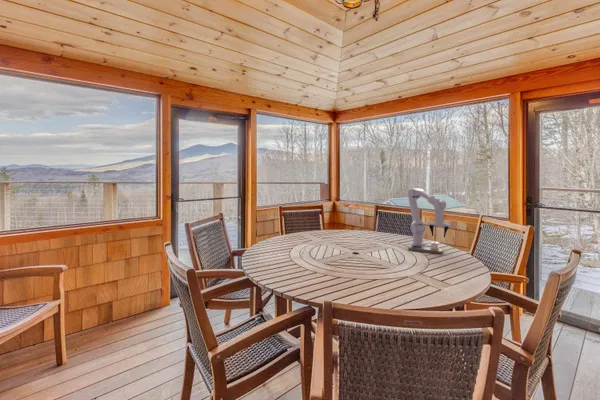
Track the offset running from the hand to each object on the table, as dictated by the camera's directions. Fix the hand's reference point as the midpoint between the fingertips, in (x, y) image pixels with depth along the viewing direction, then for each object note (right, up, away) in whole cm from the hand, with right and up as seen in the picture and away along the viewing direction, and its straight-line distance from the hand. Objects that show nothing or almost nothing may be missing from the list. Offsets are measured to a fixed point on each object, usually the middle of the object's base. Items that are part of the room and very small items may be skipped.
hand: (438, 236), depth 217 cm
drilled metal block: (-4, -11, -3) cm, 12 cm away
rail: (-10, -10, 0) cm, 14 cm away
